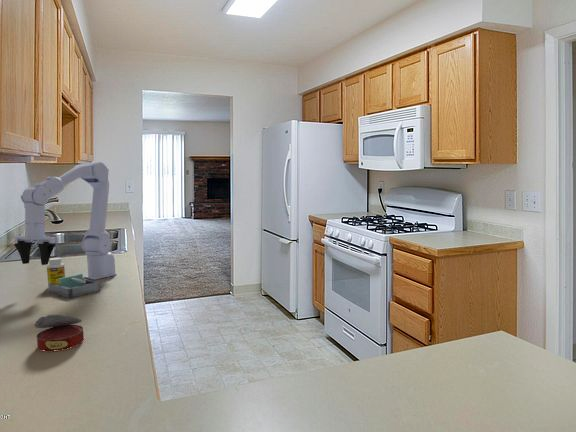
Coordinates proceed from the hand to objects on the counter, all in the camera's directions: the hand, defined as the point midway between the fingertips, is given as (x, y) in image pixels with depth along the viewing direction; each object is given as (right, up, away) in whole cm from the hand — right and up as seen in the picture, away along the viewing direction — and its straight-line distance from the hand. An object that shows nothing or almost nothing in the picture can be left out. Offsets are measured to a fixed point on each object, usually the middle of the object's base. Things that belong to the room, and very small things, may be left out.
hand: (35, 264), depth 148 cm
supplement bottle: (+2, -9, +10) cm, 14 cm away
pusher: (+14, -9, +2) cm, 17 cm away
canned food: (+31, -15, -43) cm, 55 cm away
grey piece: (+12, -10, +3) cm, 15 cm away
